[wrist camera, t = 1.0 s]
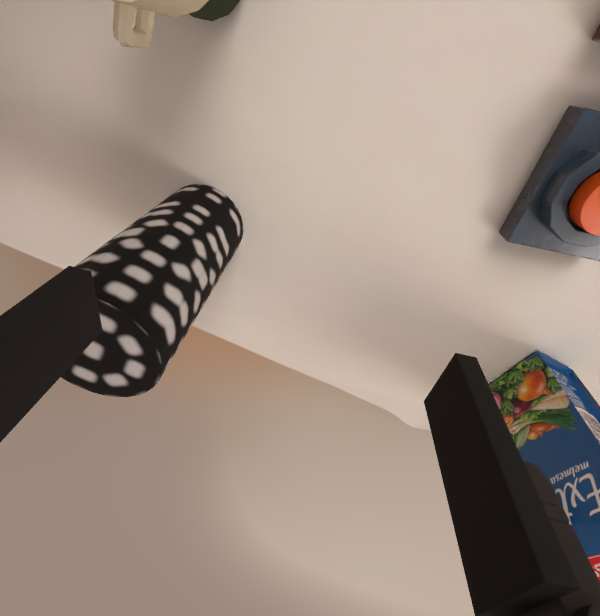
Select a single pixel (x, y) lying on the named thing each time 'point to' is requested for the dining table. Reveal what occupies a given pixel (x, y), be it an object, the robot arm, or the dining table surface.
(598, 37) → the dial panel
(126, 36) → the cream and green cup
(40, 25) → the dining table surface
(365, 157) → the dining table surface
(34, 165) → the dining table surface
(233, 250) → the spotted tube
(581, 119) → the button box
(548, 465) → the blue food package
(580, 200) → the button
